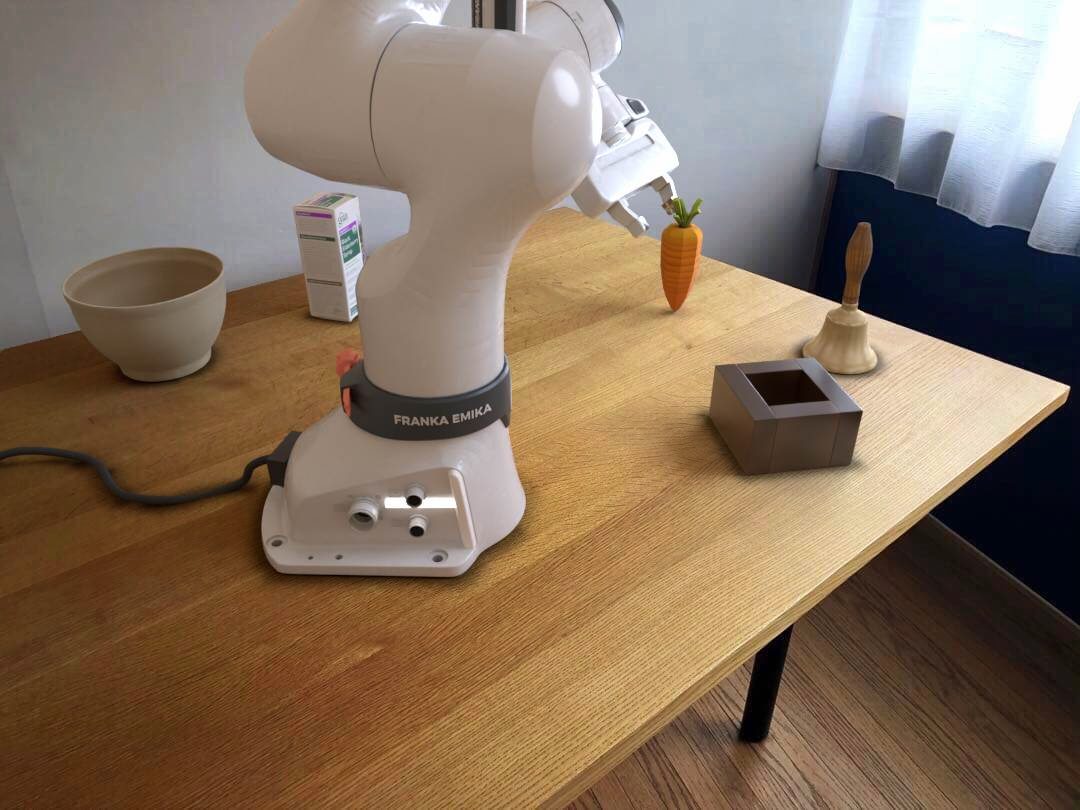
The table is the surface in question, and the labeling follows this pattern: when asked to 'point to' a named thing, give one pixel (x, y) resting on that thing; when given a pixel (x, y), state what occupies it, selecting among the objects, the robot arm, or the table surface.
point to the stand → (783, 415)
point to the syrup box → (330, 253)
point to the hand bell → (847, 317)
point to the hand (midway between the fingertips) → (660, 222)
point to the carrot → (680, 254)
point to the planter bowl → (151, 309)
